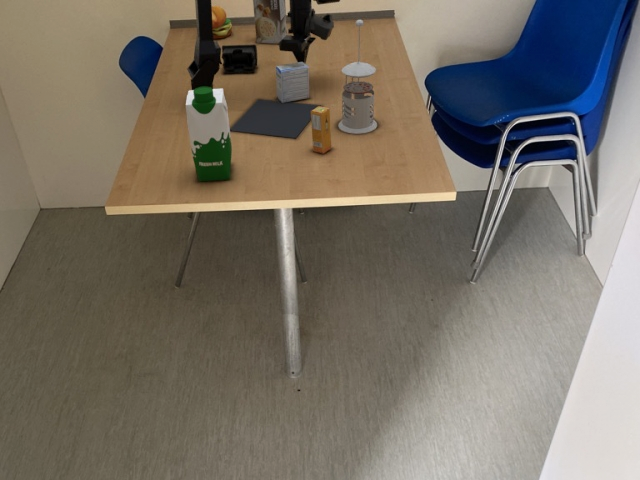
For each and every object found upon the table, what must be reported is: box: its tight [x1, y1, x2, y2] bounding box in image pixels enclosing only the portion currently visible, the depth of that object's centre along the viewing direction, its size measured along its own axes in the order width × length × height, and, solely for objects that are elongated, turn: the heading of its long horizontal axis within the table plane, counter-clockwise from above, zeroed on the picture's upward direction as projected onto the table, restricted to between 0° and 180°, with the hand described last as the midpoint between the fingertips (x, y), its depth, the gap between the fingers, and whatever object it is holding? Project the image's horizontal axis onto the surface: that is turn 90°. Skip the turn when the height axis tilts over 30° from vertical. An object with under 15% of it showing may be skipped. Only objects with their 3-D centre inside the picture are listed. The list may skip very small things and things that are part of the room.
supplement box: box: [310, 106, 332, 155], centre depth 158 cm, size 3×3×10 cm
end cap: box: [221, 44, 258, 75], centre depth 201 cm, size 10×7×7 cm
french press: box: [337, 19, 378, 135], centre depth 162 cm, size 10×12×25 cm
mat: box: [230, 98, 322, 140], centre depth 176 cm, size 20×18×1 cm
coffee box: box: [252, 0, 288, 45], centre depth 215 cm, size 9×6×16 cm
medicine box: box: [275, 61, 310, 103], centre depth 182 cm, size 8×4×9 cm, turn 111°
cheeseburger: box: [212, 5, 233, 39], centre depth 225 cm, size 10×11×10 cm
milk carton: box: [185, 87, 233, 182], centre depth 148 cm, size 9×9×20 cm
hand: (302, 67), depth 187 cm, fingers closed
